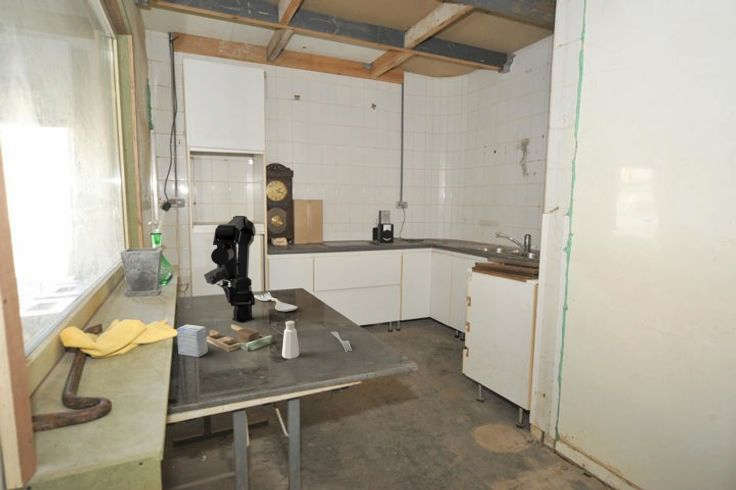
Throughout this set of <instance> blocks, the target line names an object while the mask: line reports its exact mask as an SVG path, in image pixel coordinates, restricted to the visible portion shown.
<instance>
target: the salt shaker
mask: <svg viewBox="0 0 736 490" xmlns="http://www.w3.org/2000/svg"><path fill="white" fill-rule="evenodd" d="M295 325H296V322H295V321H294V320H288V321H285V329H284V335H283V336H284V338H283V339H282V341H283V342H282V351H281V356H282V357H283V359H287V360H288V359H289V360H292V359H297V358H298V356H300V347H299V341H298V340H299V339H298V333H297V329H296V328H295Z"/></svg>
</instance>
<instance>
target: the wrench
mask: <svg viewBox="0 0 736 490" xmlns="http://www.w3.org/2000/svg"><path fill="white" fill-rule="evenodd" d="M265 327H266V328H272V329H273V330H275V331H276V332H278V333H279V334H281V335H282V336H283V338H284V330H285V329H284V328H282V327H281V326H279V324H278V322H277V321H271V323H270V322H266V323H265Z"/></svg>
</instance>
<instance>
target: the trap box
mask: <svg viewBox="0 0 736 490" xmlns="http://www.w3.org/2000/svg"><path fill="white" fill-rule="evenodd" d="M244 328H245V327H242V326H240V325H237V324H234V323H232V324H230V329H232V330H234V331H235V332H236V331H238V330H241V329H244ZM259 334H260V339H258V340H255V341H252V342H249V343H246V344H245V343H238V342H236V343H235V339H234V338H233V337H230V336H229V335H227V336H222V337H221V333H220V332H219V331H216V330H213V329H211V330H209V335H207V343H209V344H211V345H214V346H215V347H217V348H219V349H221V350H223V351H226V352H227V353H229V352H232V351H235V350H238V349H242V350H244V351H246V352H251V351H253V350H256V349H259V348H262V347H265V346H267V345H271V344H273V336H272V335H268V336H267V335H263V334H261V333H259ZM220 337H221V338H220Z"/></svg>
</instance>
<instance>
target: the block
mask: <svg viewBox="0 0 736 490" xmlns="http://www.w3.org/2000/svg"><path fill="white" fill-rule="evenodd" d="M243 328H244V329H241V330H238V331H236V330H235V342H236V343H245V344H246V343H249V342H252V341H255V340H258V339H260V334H261V333H260V331H257V330H255V329H252V328H249V327H243Z"/></svg>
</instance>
